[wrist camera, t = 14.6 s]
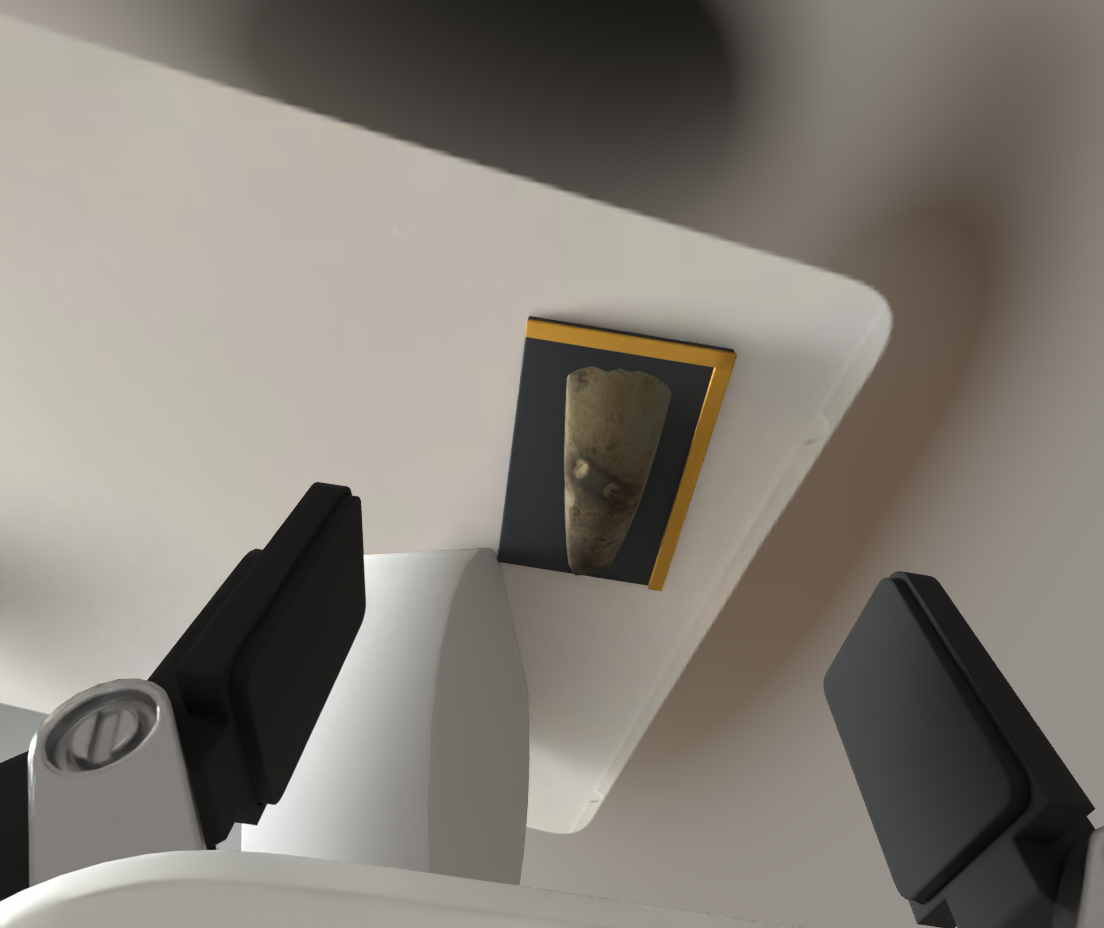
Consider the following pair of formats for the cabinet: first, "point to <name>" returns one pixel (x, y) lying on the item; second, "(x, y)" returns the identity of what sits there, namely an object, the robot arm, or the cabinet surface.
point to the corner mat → (540, 441)
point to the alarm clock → (418, 731)
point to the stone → (607, 458)
